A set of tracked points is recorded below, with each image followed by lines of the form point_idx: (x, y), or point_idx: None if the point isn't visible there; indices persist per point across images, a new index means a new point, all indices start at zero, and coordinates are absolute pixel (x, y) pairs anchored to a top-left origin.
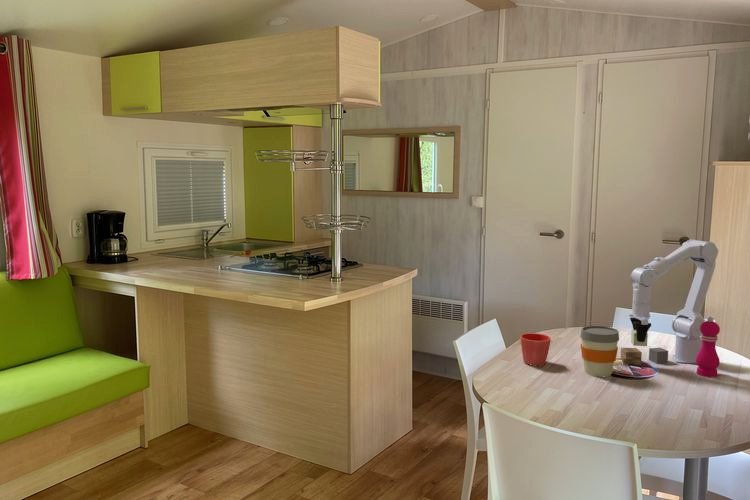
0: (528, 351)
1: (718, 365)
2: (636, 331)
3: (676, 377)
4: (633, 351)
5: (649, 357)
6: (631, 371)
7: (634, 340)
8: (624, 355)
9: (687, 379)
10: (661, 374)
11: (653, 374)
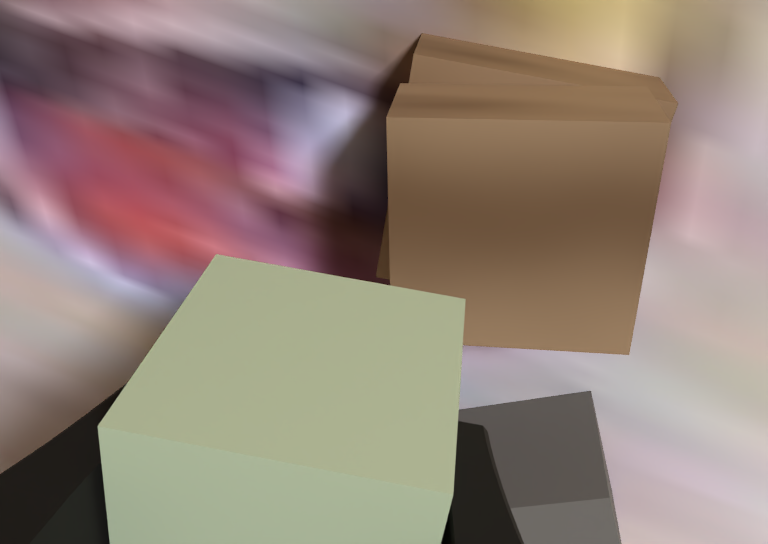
0: None
1: None
2: (38, 503)
3: (44, 397)
4: (427, 247)
5: (581, 414)
6: (127, 37)
7: (173, 323)
8: (459, 94)
9: (17, 450)
10: (98, 315)
11: (77, 244)
